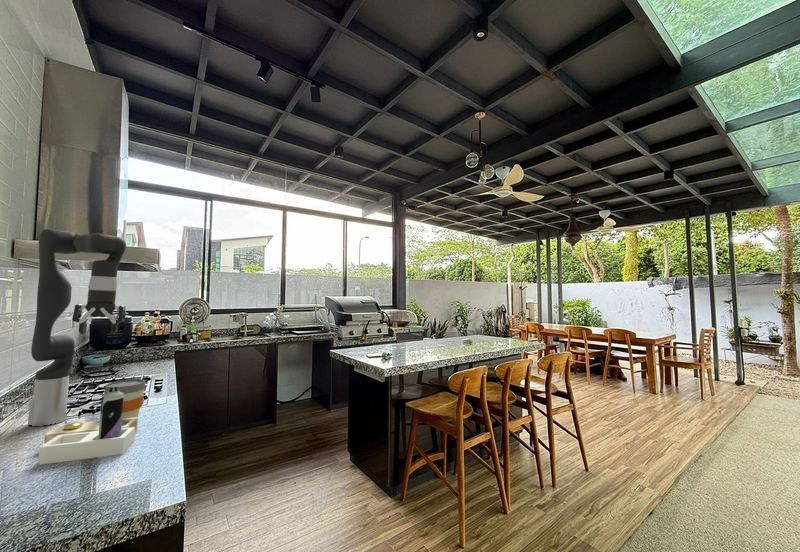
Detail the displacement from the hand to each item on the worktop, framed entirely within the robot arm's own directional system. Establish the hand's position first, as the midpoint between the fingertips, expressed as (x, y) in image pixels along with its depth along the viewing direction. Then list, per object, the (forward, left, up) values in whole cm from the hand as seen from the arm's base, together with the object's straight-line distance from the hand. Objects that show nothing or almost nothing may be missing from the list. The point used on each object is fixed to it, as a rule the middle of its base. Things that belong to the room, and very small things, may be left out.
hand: (98, 333), depth 117 cm
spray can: (+11, -16, -36) cm, 41 cm away
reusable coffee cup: (+5, +12, -36) cm, 38 cm away
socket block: (+3, -5, -36) cm, 36 cm away
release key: (-3, -5, -35) cm, 36 cm away
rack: (+6, -16, -36) cm, 40 cm away
